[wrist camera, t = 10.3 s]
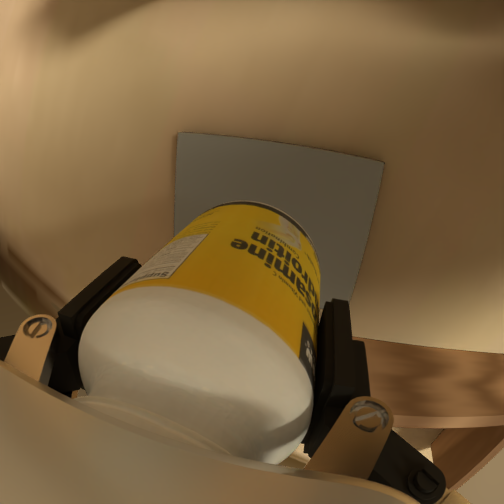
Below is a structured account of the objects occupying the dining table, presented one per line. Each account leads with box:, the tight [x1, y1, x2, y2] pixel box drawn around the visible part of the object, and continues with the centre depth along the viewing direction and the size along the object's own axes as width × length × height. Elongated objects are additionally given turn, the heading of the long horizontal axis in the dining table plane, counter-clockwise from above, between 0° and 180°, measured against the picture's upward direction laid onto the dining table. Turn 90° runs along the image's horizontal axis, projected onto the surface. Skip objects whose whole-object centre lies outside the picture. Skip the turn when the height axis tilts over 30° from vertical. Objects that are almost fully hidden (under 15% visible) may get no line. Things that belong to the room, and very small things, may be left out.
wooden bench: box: [352, 337, 504, 491], centre depth 21 cm, size 22×14×7 cm, turn 83°
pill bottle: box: [74, 201, 321, 465], centre depth 10 cm, size 6×6×12 cm
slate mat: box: [174, 132, 385, 309], centre depth 20 cm, size 12×10×1 cm
